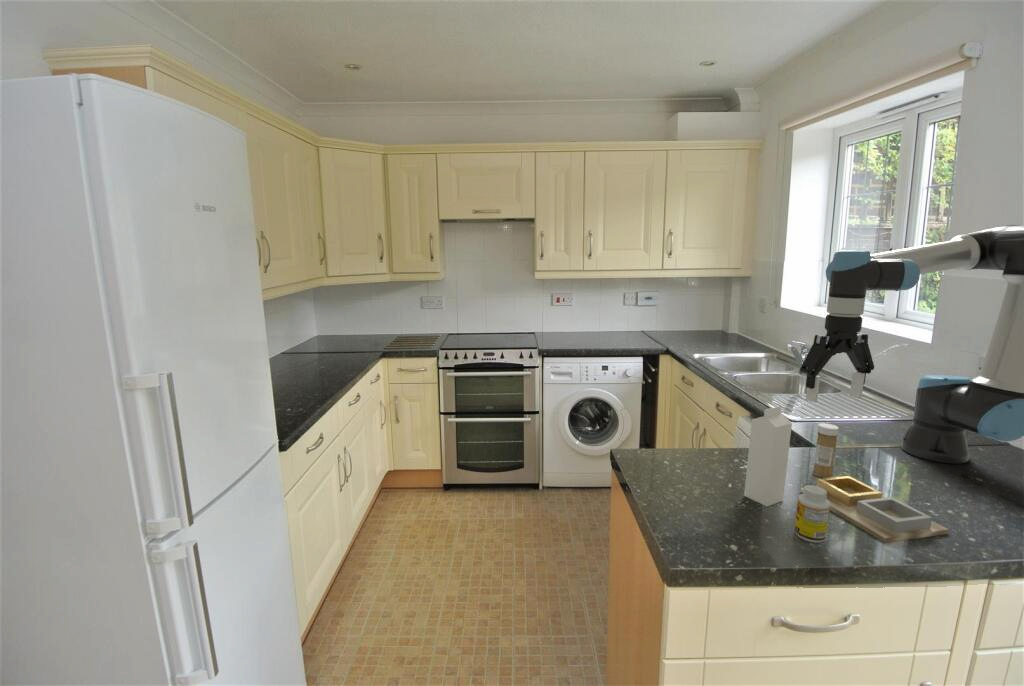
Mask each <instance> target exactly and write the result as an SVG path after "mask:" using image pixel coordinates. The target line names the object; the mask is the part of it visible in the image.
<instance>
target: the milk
mask: <svg viewBox="0 0 1024 686" xmlns="http://www.w3.org/2000/svg"><path fill="white" fill-rule="evenodd" d="M763 414H764V415H763V416H760V417H756V418H752V419H751V425H750V434H749V442H748V443H749V445H748V453H747V463H746V465H747V466H746V471H745V472H746V473H745V474H746V475H745V483H744V492H743V494H744V495H743V496H744V497H746V498H748V499H750V500H752V501H754V502H756V503H759V504H761V505H763V506H765V507H770V506H772V505H775V504H778V503H780V502H783V500H784V494H785V486H786V477H787V468H788V461H789V460H788V459H789V452H790V451H789V450H790V443H791V435H792V427H793V426H792V425H793V423H792V422H791V421H790V420H789V419H788V417H786V416H785V415H784V414H783V413H782V407H781V406H780V405H779V406H775V407H771V408H767V409H766V408H765V410H764V413H763Z"/></svg>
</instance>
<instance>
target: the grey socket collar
mask: <svg viewBox="0 0 1024 686" xmlns="http://www.w3.org/2000/svg"><path fill="white" fill-rule="evenodd" d="M887 510H891V511H893V512H895V513H897V514H898V515H900V516H902V517H904V518H900V519H895V518H893V517H891V516H889V515H888V514H886V513H884V512H882V511H887ZM856 512H858V513H860V514H861V515H863V516H865V517H867V518H868V519H870V520H872V521H874V522H876V523H877V524H879V525H881V526H883V527H884V528H886V529H888V530H890V531H891V532H893V533H902V532H909V531H917V530H924V529H930V527H931V522H932V521H933V517H932V516H930V515H928V514H926V513H924V512H922V511H920V510H918V509H916V508H914V507H912V506H910V505H908V504H906V503H905V502H902V501H900V500H898V499H896V498H894V497H892V496H890V497H889V496H886V498H878V499H869V500H861V501H858V502H857V509H856Z"/></svg>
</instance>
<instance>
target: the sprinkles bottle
mask: <svg viewBox="0 0 1024 686" xmlns="http://www.w3.org/2000/svg"><path fill="white" fill-rule="evenodd" d="M839 430H840V429H839V426H837V425H835V424H831V423H826V422H825V423H818V424H817V430H816V431H817V436H816V437H817V439H816V444H815V452H814V461H813V462H814V463H813V470H812V474H813V475H814V476H815V477H817V478H820V479H823V478H832V477H834V476H833V475H834V474H833V472H834V466H835V459H836V447H837V441H838V436H839Z"/></svg>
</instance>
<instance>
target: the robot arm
mask: <svg viewBox="0 0 1024 686" xmlns="http://www.w3.org/2000/svg"><path fill="white" fill-rule="evenodd" d="M949 270H957V271H961V272H963V271H964V272H965V271H971V270H989V271H990V270H992V271H1002V275H1001V277H1002V278H1003V279H1004V280H1005V281H1006V282H1007V286H1006V290H1005V292H1004V295H1003V299H1002V302H1001V305H1000V308H999V312H998V315H997V319H996V322H995V324H994V328H993V331H992V333H991V338H990V341H989V345H988V347H987V350H986V355H985V357H984V361H983V364H982V366H981V370H980V374H979V375H978V376H975V377H973V378H972V377H968V376H960V375H947V374H946V375H944V374H927V375H923V376H922V377H920V378H919V381H918V386H917V387H916V395H915V402H914V403H915V404H914V409H913V417H912V422H911V425H910V426H909V428H908V429H907V431H906V433H905V435H904V436H903V438H902V439H901V445H900V447H901V450H903V451H904V452H906V453H908V454H910V455H912V456H914V457H917V458H920V459H924V460H927V461H933V462H936V463H937V462H938V463H943V464H951V465H952V464H954V465H956V464H957V465H958V464H959V465H960V464H965V463H967V462H969V457H970V450H969V445H968V442H967V441H968V440H967V438H966V430H967V431H970V432H972V433H975V434H978V435H980V436H982V437H983V438H985V439H993V440H996V441H998V442H1013V441H1017V440H1020V439H1021V438H1022V437H1024V224H1007V225H1001V226H996V227H991V228H987V229H982V230H978V231H974V232H968V233H964V234H959V235H956V236H954V237H953V238H952V239H950V240H946V241H943V242H942V241H941V242H935V243H930V244H929V243H928V244H924V245H917V246H912V247H907V248H902V249H896V250H895V249H894V250H889V251H882V252H879V253H873V254H872V253H871V251H870V250H838V251H836V252H834V254H833V259H832V261H830V262H829V263H828V265H827V266H826V269H825V277H826V280H827V281H828V282H829V287H828V296H827V297H828V298H827V305H826V306H827V307H826V313H828V314H827V315H826V316H825V321H824V329H825V331H826V334H825V335H821V334H815V335H814V338H813V343H812V345H811V347H810V349H809V351H808V353H807V355H806V357H805V359H804V360H803V362H802V364H801V366H800V368H799V371H800V372H801V373H803V374H805V375H806V379H805V380H806V381H805V388H806V393H805V394H806V395H805V400H806V401H809V402H811V403H818V398H819V397H818V396H819V392H820V391H819V389H820V380H821V376H819V373H820V372H821V371H822V370H823V369H824V368H825V366H826V364H828V362H829V361H830V359H831V358H832V357H833V356H836V355H837V354H842V353H844V354H846V355H847V357H848V359H849V361H850V363H851V364H852V366H853V367H854V369H855V370H853V371H852V373H851V374H852V375H851V381H850V382H851V383H850V391H849V397H852V398H855V399H858V400H862V397H863V389H864V385H865V383H866V377H867V376H866V375H867V374H869V375H870V374H871V373H872V371H873V370H874V369H875V364H874V360H873V358H872V353H871V349H870V346H869V334H866V333H861V330H862V326H863V320H864V319H863V318H862V315H863V314H864V313H865V312H864V311H865V304H866V303H865V302H866V294H867V291H894V292H899V291H907V290H910V289H912V288H914V287H915V286H916V285H917V284H918V282H919V280H920V276H921V275H925V274H930V273H936V272H942V271H949Z"/></svg>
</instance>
